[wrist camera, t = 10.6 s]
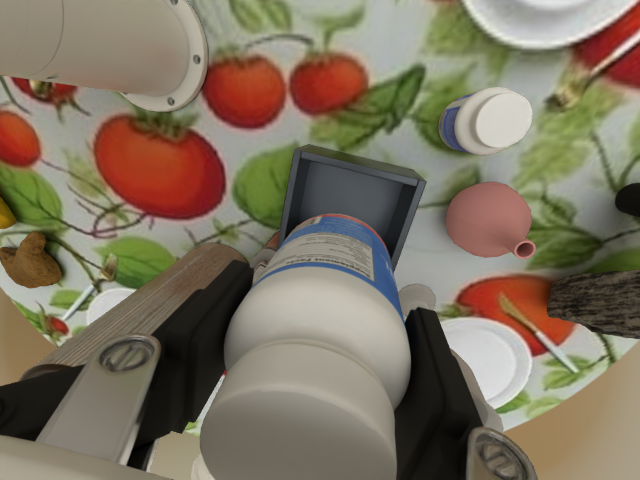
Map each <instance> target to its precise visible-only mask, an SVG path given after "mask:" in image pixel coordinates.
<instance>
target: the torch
mask: <svg viewBox="0 0 640 480" xmlns="http://www.w3.org/2000/svg"><path fill="white" fill-rule="evenodd" d="M15 223H16V218H15V217H14V215H13V213H12V212H11V210H10V209H9V207H8V206H7V204H6V203H5V202H4V201H3V199H2V198H1V197H0V229H6V228H8V227H11V226H12V225H14V224H15Z"/></svg>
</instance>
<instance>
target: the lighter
mask: <svg viewBox="0 0 640 480" xmlns="http://www.w3.org/2000/svg"><path fill="white" fill-rule="evenodd" d="M279 230H280V228H279V229H278V230H277V231H276V232H275V233H274V234H273V235H272V236H271V237H270V238H269V240H268V241H267V242H266V244H265V245H264V246H263V247H262V249H261V251H260V252H259V253H258V254H257V255H256V256H254V258H253V259H252V260H251V261H250V263H249V264H250V268H254V277H253V284H252V286H253V285H254V283H255V282H256V281H257V279H258V278H259V277H260V275H261V274H262V272H263V271H264V269H265V268H266V266H267V265H268V263H269V262H270V261H271V259H272V258H273V256H274V255H275V254H276V252H277V251H278V249H276V247H277V241H278V236H279Z"/></svg>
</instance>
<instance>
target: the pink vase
mask: <svg viewBox="0 0 640 480" xmlns="http://www.w3.org/2000/svg"><path fill="white" fill-rule="evenodd" d="M531 223H532V217H531V210H530V208H529V206H528V205H527V203H526V202H525V200H524V199H523V198H522V197H521V196H520V195H519V193H518V192H516V191H515V190H513V189H512V188H510V187H509V186H507V185H505V184H501V183H496V182H487V183H479V184H475V185H472V186H470V187H468V188H465V189H463V190H461V191H460V192H459V193H458V194H457V195H456V196H455V197H454V198H453V199H452V201H451V203H450V204H449V206H448V211H447V216H446V227H447V232H448V235H449V236H450V238H451V239H452V240H453V242H454V243H455V244H456V245H458V246H459V247H461V248H462V249H464V250H466V251H467V252H469V253H471V254H473V255H476V256H481V257H498V256H501V255H503V254H506V253H508V252H512V253H513V254H514V255H515V256H517V257H518V258H521V259H526V258H529V257H531V256H532V255H533V254H534V253H535V250H536V246H535V245H534V243H532V242H531V241H529V240H528V239H526V236H527V235H528V233H529V230H530V227H531Z"/></svg>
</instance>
